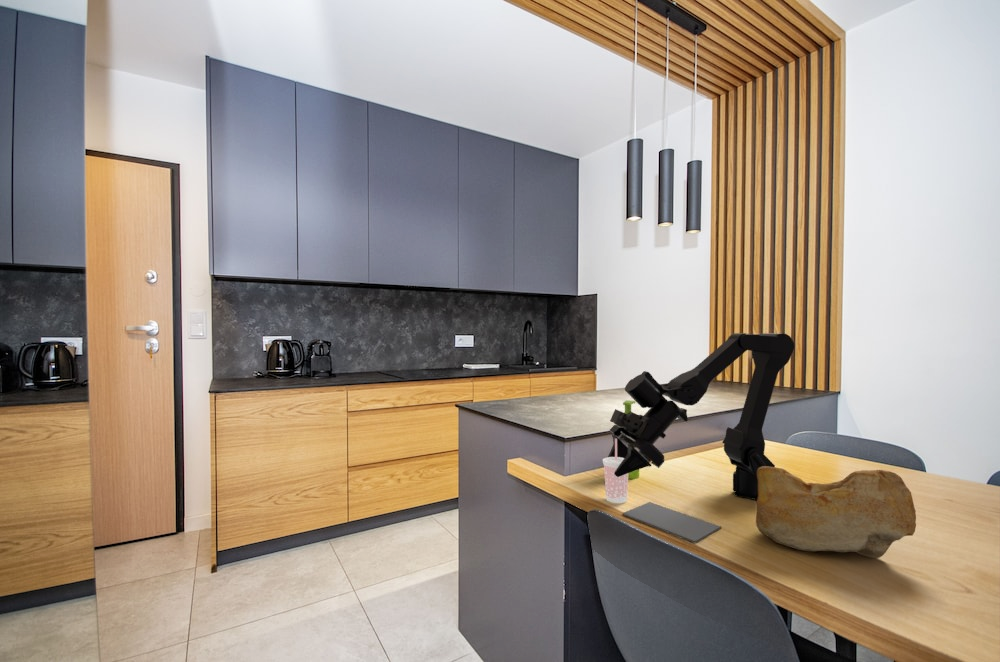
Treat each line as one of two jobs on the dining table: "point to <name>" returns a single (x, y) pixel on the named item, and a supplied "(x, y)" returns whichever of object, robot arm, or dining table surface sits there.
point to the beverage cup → (615, 479)
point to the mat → (672, 522)
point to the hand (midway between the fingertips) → (610, 470)
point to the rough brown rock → (835, 511)
